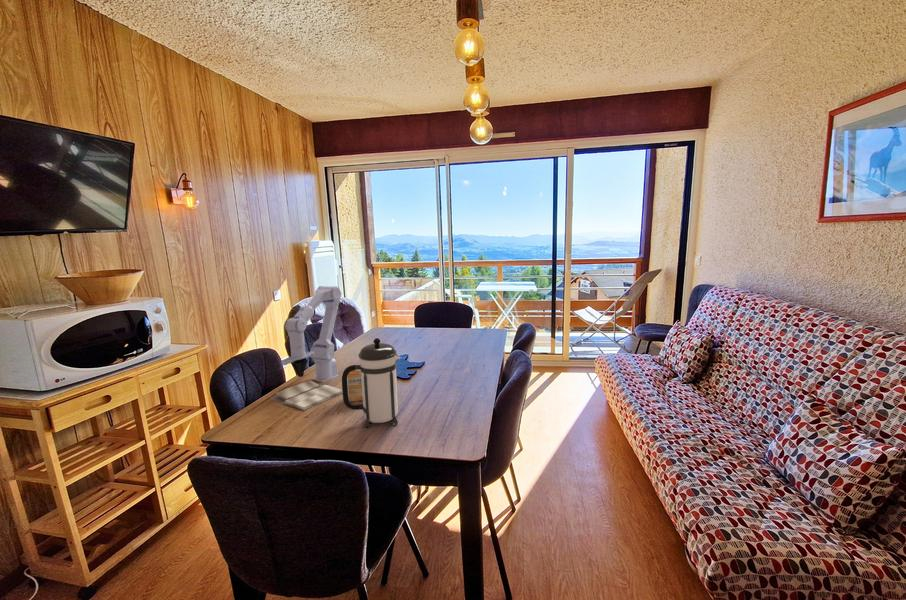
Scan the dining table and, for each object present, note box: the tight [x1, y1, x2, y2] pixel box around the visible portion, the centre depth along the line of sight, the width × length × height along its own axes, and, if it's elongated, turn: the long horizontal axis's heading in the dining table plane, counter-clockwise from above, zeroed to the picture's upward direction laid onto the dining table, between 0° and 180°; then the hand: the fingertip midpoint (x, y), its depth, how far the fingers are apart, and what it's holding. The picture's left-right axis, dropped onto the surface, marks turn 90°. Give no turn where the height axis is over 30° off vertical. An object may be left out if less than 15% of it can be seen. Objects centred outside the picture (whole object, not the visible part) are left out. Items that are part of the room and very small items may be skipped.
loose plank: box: [275, 379, 320, 401], centre depth 155 cm, size 16×7×1 cm, turn 148°
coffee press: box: [341, 337, 402, 429], centre depth 127 cm, size 17×16×30 cm
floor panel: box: [270, 384, 343, 412], centre depth 151 cm, size 20×22×2 cm
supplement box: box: [347, 369, 363, 403], centre depth 147 cm, size 8×5×13 cm, turn 106°
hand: (300, 376), depth 157 cm, fingers closed
